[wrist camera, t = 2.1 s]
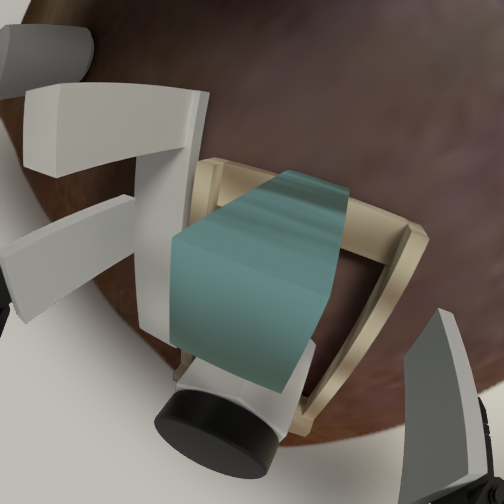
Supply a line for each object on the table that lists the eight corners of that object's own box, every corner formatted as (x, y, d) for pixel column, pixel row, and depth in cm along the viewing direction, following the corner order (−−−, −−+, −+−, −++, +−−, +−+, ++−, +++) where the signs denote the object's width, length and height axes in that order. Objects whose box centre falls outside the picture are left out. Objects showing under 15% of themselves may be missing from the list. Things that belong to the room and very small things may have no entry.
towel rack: (216, 150, 18) (61, 192, 8) (424, 218, 15) (495, 355, 5) (192, 355, 28) (128, 435, 18) (314, 406, 25) (279, 505, 15)
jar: (207, 323, 26) (132, 415, 16) (266, 285, 22) (186, 407, 11) (267, 382, 27) (218, 478, 16) (332, 358, 22) (296, 483, 12)
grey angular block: (155, 88, 17) (22, 92, 8) (209, 92, 16) (66, 82, 7) (145, 321, 29) (80, 385, 20) (182, 341, 28) (119, 415, 19)
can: (56, 88, 21) (-31, 102, 11) (72, 30, 17) (-17, 31, 7) (87, 94, 20) (-19, 109, 10) (107, 26, 16) (0, 19, 6)
